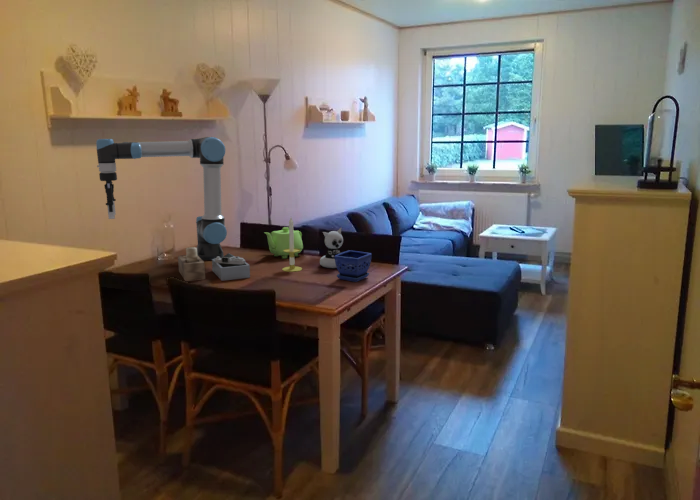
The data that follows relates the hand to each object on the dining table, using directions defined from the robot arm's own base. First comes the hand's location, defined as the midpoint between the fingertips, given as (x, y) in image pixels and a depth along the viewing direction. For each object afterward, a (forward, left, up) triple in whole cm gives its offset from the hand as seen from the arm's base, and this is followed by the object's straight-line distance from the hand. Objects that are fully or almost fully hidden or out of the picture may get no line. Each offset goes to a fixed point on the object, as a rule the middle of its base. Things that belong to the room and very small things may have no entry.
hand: (112, 216), depth 267 cm
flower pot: (-100, +60, -28) cm, 120 cm away
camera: (-50, +27, -28) cm, 63 cm away
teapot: (-85, -2, -28) cm, 89 cm away
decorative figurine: (-102, +33, -28) cm, 110 cm away
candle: (-80, +31, -28) cm, 90 cm away
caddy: (-50, +27, -28) cm, 63 cm away
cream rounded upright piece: (-32, +25, -21) cm, 46 cm away
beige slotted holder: (-32, +21, -28) cm, 47 cm away
